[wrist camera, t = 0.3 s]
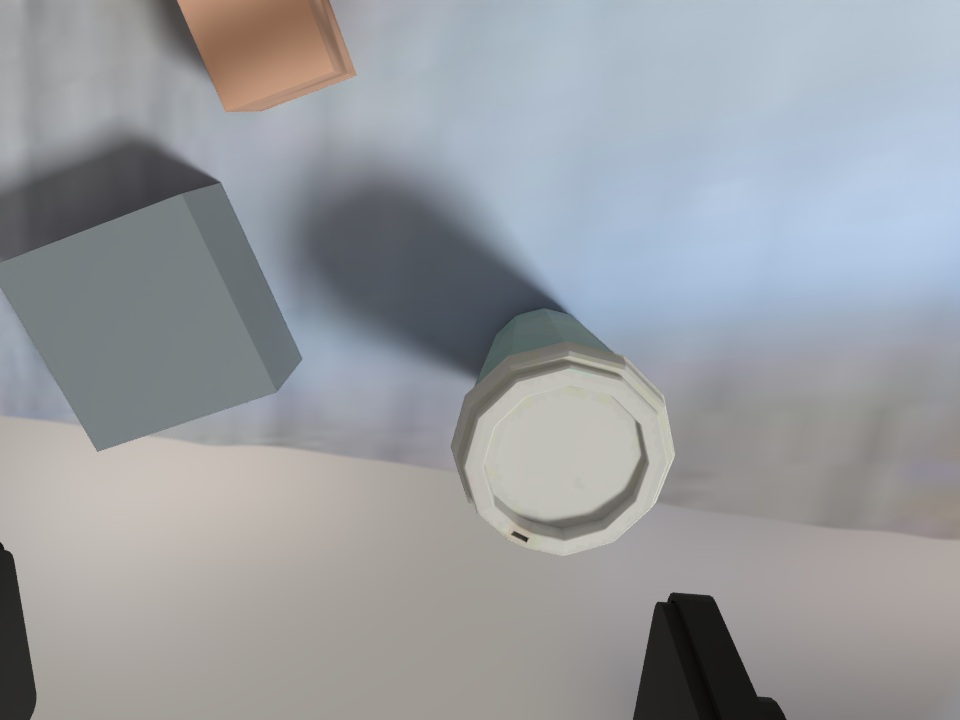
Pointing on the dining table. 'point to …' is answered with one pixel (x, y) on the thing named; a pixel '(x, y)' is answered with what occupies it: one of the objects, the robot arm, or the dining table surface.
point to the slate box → (153, 317)
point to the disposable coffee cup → (560, 437)
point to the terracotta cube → (267, 49)
